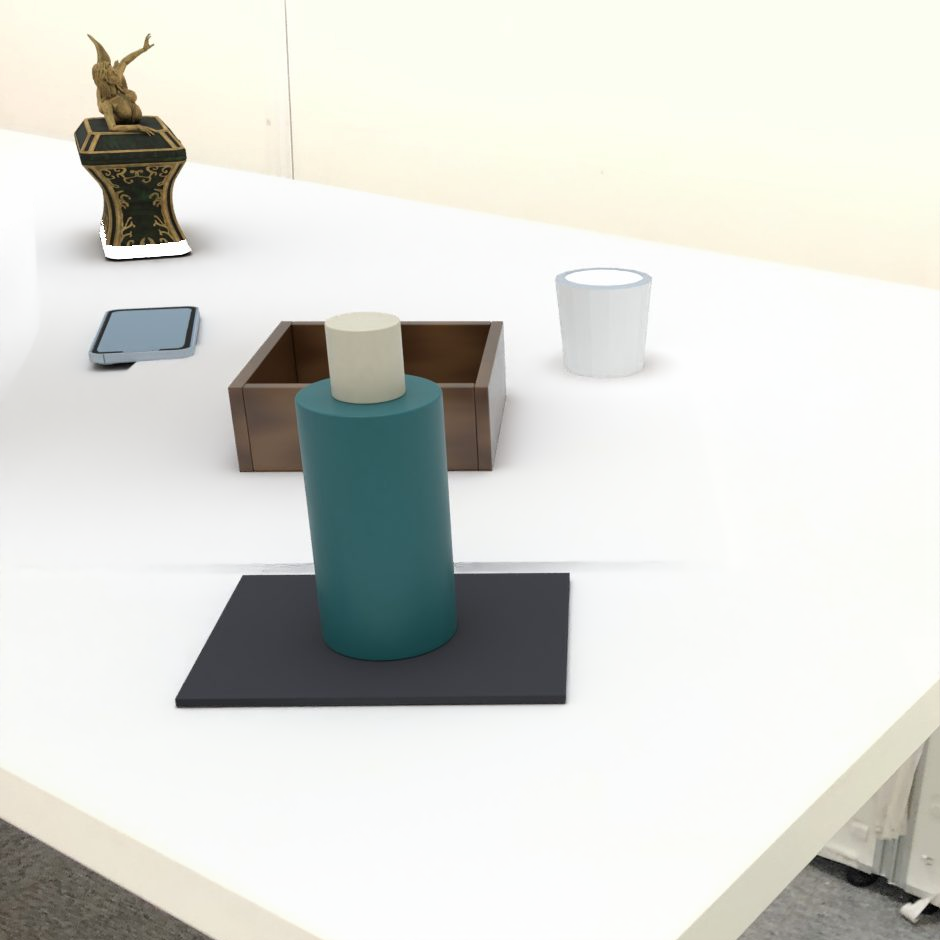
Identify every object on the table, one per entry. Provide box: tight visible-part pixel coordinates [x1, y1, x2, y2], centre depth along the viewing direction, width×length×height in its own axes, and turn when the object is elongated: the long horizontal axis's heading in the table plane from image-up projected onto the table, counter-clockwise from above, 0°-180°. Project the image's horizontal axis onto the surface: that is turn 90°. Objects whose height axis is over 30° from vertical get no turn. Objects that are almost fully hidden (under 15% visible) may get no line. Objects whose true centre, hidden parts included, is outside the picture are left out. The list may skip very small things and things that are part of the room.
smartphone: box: [87, 305, 201, 366], centre depth 103 cm, size 7×1×15 cm
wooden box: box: [227, 320, 507, 473], centre depth 83 cm, size 15×15×6 cm
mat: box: [174, 572, 571, 708], centre depth 60 cm, size 16×12×1 cm
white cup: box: [554, 267, 653, 379], centre depth 95 cm, size 7×7×7 cm
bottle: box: [295, 311, 457, 661], centre depth 57 cm, size 6×6×14 cm
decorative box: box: [73, 33, 188, 246], centre depth 132 cm, size 20×10×20 cm, turn 22°
